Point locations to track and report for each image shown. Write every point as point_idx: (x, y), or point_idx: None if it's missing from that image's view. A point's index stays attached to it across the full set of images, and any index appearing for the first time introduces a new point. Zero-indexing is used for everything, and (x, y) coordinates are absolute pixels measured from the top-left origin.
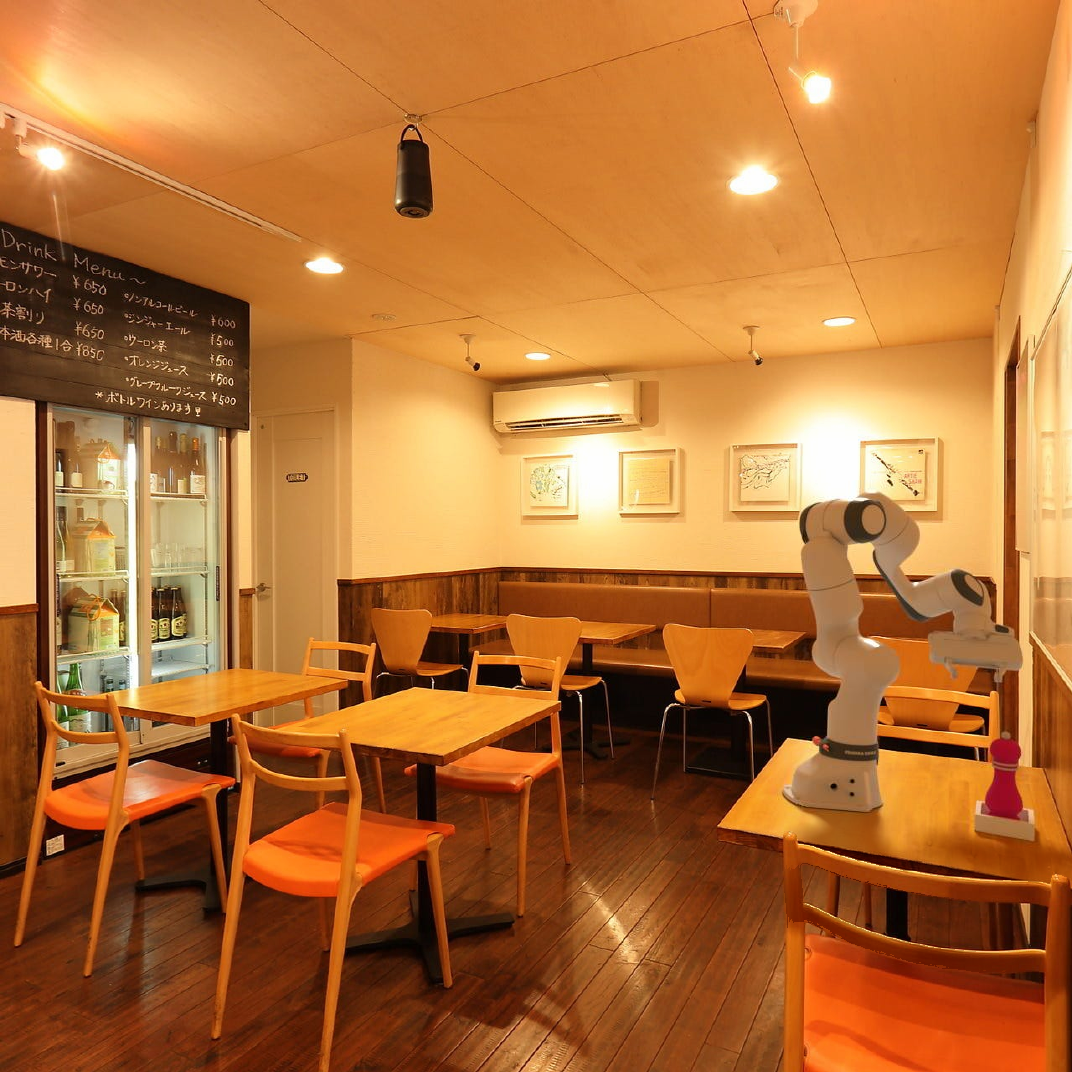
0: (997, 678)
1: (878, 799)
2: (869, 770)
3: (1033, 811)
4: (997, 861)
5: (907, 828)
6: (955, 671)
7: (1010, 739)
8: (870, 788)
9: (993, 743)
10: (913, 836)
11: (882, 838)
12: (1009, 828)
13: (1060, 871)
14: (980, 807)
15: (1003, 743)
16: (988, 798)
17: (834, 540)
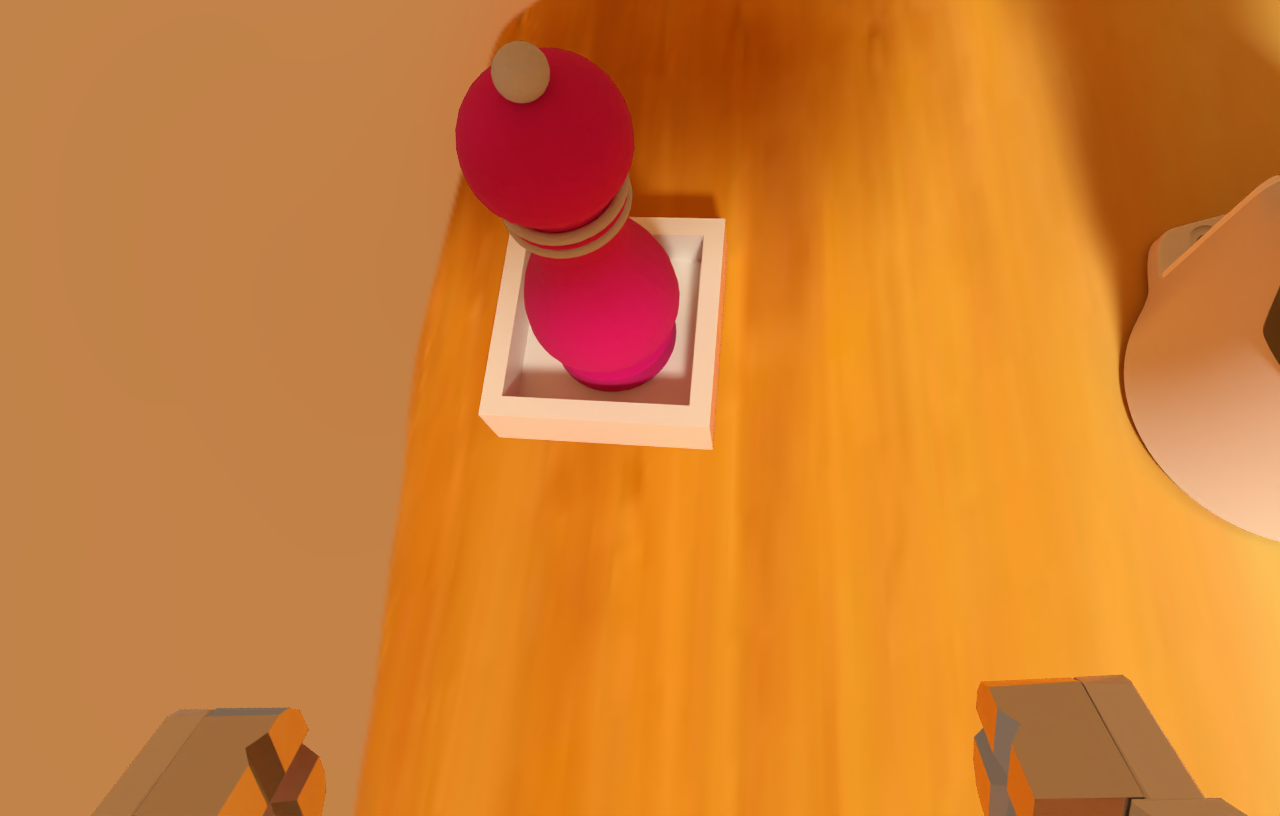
0: (261, 713)
1: (1147, 337)
2: (1269, 206)
3: (483, 388)
4: (671, 14)
5: (966, 149)
6: (1056, 726)
7: (497, 102)
8: (1205, 242)
9: (608, 82)
10: (934, 82)
11: (1031, 10)
12: None
13: (503, 34)
14: (698, 325)
15: (552, 50)
16: (665, 252)
17: None
